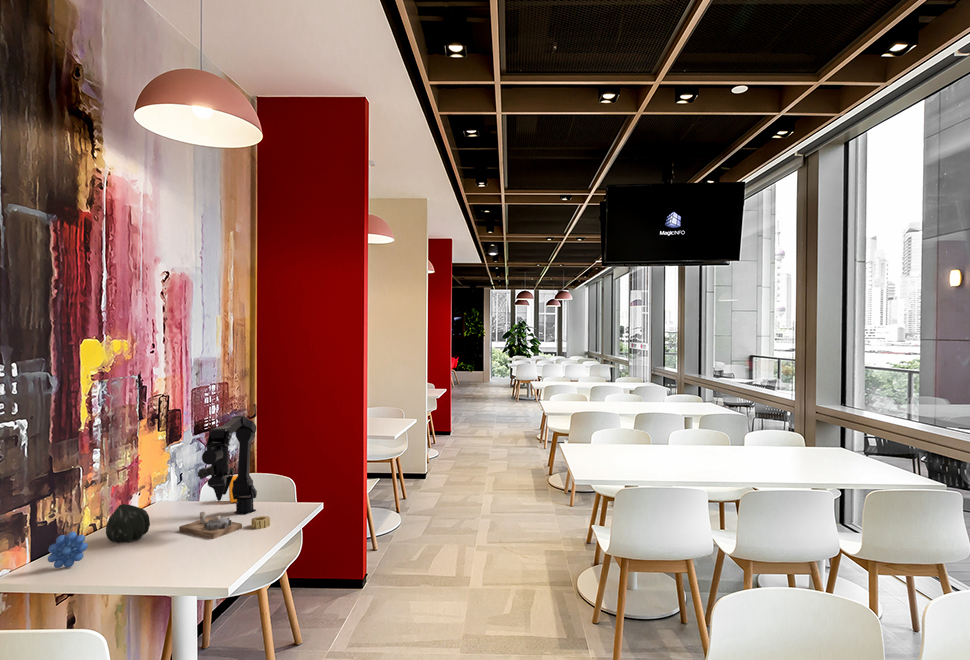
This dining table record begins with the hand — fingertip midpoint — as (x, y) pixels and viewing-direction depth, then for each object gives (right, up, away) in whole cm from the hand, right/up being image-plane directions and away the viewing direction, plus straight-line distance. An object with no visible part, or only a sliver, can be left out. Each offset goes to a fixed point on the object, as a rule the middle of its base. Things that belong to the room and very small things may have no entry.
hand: (221, 497), depth 232 cm
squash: (-31, -14, -10) cm, 36 cm away
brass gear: (+15, -12, +2) cm, 20 cm away
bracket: (-12, -14, +43) cm, 46 cm away
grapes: (-35, -13, -37) cm, 53 cm away
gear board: (-4, -13, -1) cm, 13 cm away
